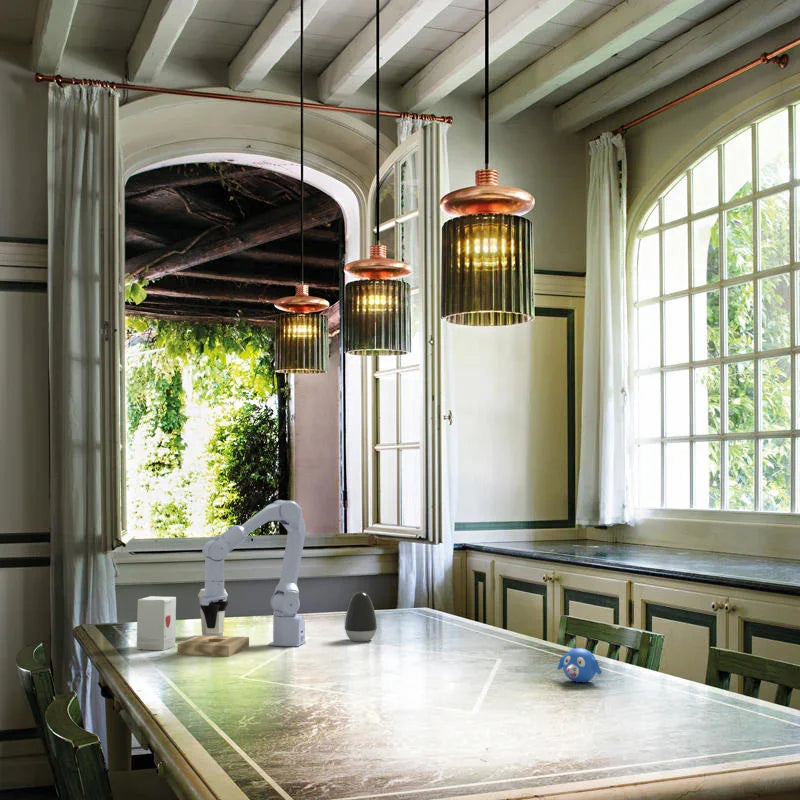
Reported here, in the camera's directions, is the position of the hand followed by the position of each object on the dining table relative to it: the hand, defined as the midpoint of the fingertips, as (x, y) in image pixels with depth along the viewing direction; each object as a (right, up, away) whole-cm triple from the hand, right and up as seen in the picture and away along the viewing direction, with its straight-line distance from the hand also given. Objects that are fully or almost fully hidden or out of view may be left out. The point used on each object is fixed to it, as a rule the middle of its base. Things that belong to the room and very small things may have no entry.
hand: (214, 627), depth 308 cm
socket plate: (0, -7, 0) cm, 7 cm away
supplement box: (-18, -8, +5) cm, 20 cm away
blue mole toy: (+100, -4, -48) cm, 111 cm away
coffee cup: (-5, -9, +26) cm, 28 cm away
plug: (0, -2, 0) cm, 2 cm away
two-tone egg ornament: (+43, -8, +18) cm, 47 cm away
